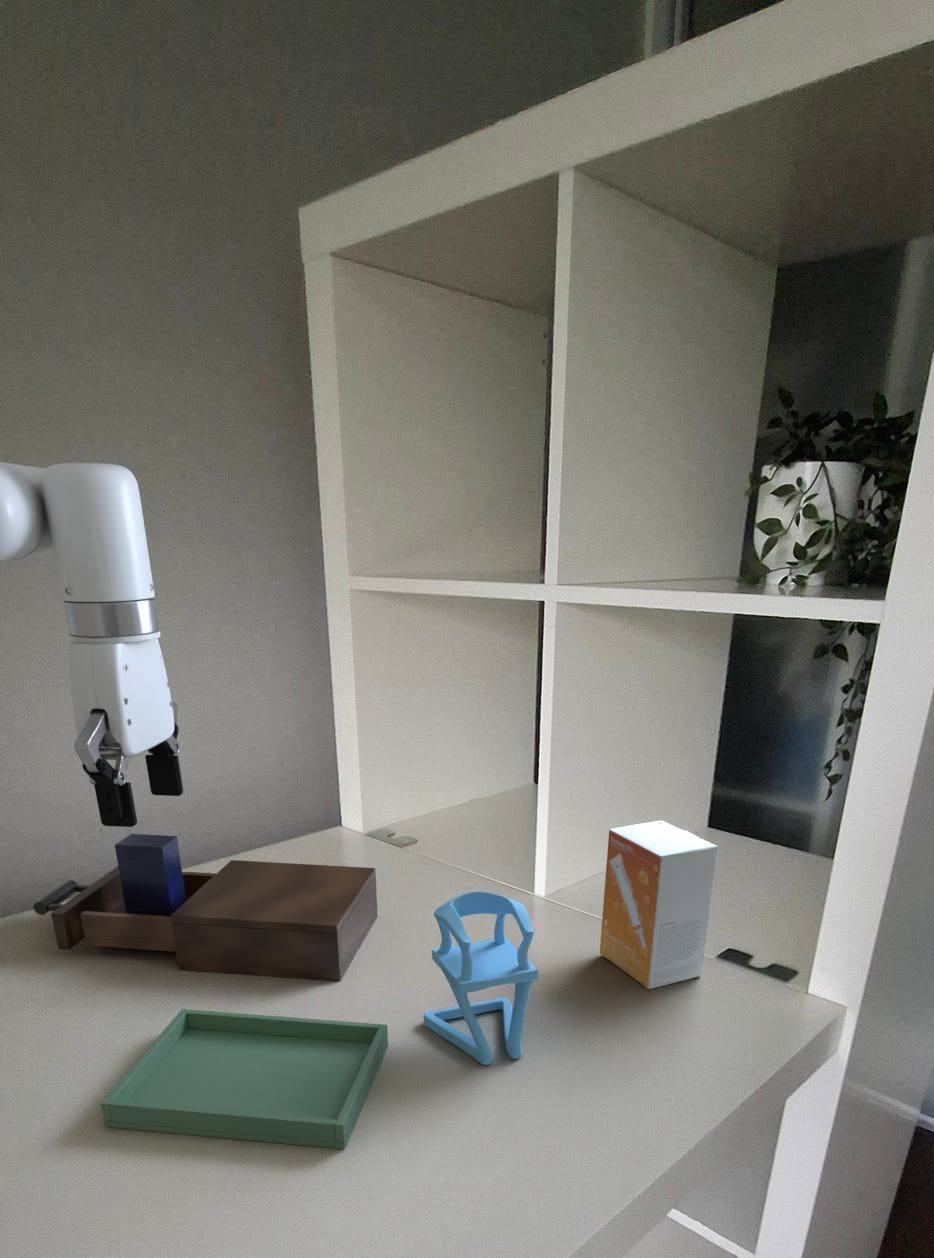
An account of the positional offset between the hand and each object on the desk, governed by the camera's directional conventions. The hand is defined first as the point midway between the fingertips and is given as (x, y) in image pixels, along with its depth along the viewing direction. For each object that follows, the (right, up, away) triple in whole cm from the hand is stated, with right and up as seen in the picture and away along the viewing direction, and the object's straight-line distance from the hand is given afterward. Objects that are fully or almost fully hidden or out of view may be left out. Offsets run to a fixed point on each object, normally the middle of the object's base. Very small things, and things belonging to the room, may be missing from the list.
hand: (145, 809), depth 86 cm
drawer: (-2, -11, +5) cm, 12 cm away
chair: (+32, -20, -12) cm, 40 cm away
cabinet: (+12, -13, +4) cm, 18 cm away
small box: (+48, -15, 0) cm, 50 cm away
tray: (+15, -23, -18) cm, 33 cm away
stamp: (0, -10, +5) cm, 11 cm away
